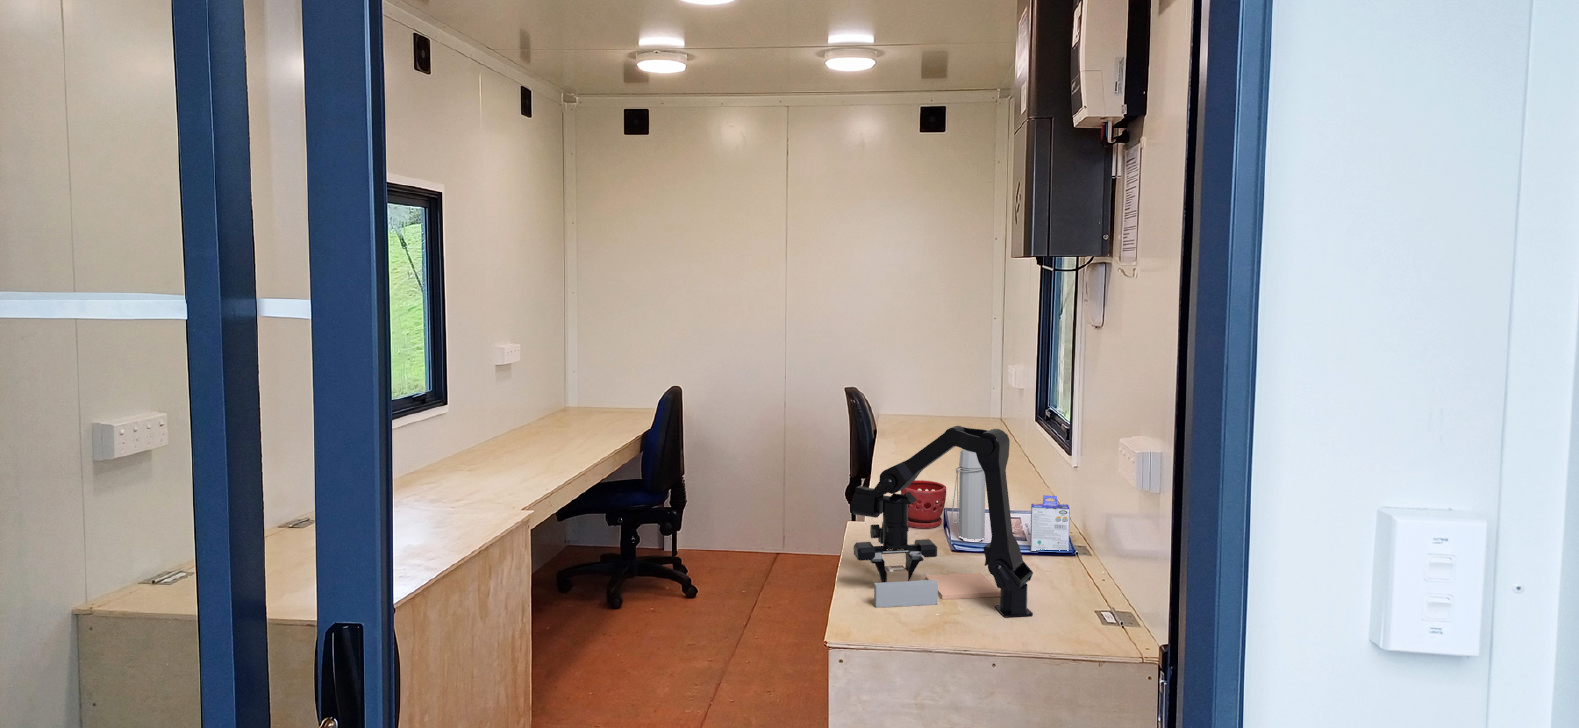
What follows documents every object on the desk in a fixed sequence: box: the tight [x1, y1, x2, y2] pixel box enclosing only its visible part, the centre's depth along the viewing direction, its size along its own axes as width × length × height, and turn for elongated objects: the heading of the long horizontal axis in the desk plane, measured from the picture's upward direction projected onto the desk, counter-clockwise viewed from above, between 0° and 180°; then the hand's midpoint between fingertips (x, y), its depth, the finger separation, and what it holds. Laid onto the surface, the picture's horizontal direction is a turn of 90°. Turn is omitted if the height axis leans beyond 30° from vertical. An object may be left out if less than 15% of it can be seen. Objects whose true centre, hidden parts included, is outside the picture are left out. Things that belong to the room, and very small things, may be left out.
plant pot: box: [900, 479, 947, 529], centre depth 280 cm, size 13×13×12 cm
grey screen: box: [873, 579, 939, 609], centre depth 214 cm, size 2×14×5 cm, turn 98°
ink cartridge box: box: [1030, 495, 1071, 552], centre depth 254 cm, size 10×6×14 cm, turn 78°
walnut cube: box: [885, 564, 908, 582], centre depth 224 cm, size 5×5×5 cm
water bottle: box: [951, 448, 986, 540], centre depth 264 cm, size 9×8×25 cm
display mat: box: [924, 572, 1000, 600], centre depth 225 cm, size 14×14×1 cm
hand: (894, 585), depth 224 cm, fingers closed on walnut cube, 5 cm apart
